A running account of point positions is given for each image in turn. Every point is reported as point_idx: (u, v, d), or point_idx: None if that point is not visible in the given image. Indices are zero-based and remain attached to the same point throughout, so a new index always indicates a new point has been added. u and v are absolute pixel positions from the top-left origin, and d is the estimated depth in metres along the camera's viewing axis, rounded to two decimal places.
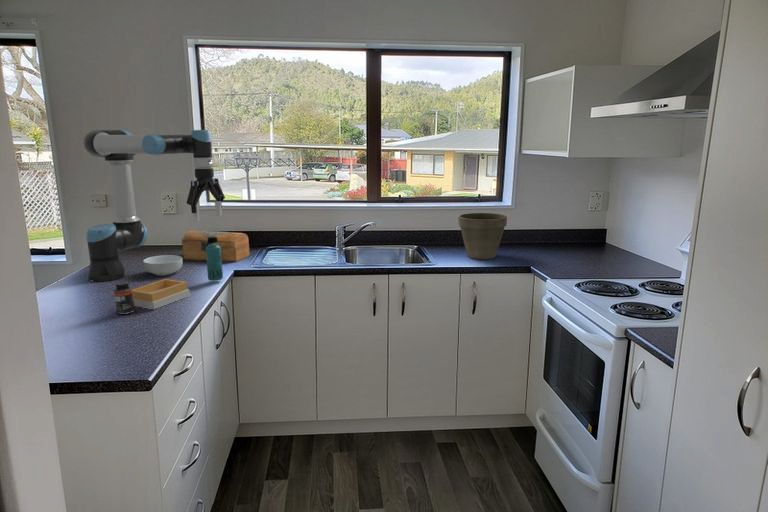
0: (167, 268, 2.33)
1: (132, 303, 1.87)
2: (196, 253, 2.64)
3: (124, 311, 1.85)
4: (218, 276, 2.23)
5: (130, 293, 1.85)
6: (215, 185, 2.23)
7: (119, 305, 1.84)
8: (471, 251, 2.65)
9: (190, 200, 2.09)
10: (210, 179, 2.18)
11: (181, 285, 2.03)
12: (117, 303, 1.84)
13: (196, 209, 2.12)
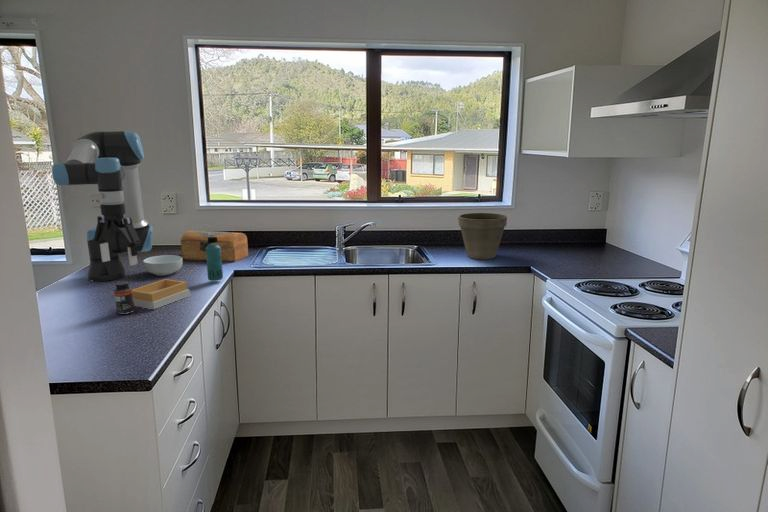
0: (167, 268, 2.33)
1: (132, 303, 1.87)
2: (195, 253, 2.64)
3: (124, 311, 1.85)
4: (218, 276, 2.23)
5: (130, 293, 1.85)
6: None
7: (119, 305, 1.84)
8: (471, 251, 2.65)
9: None
10: (115, 218, 1.78)
11: (181, 285, 2.03)
12: (117, 303, 1.84)
13: None
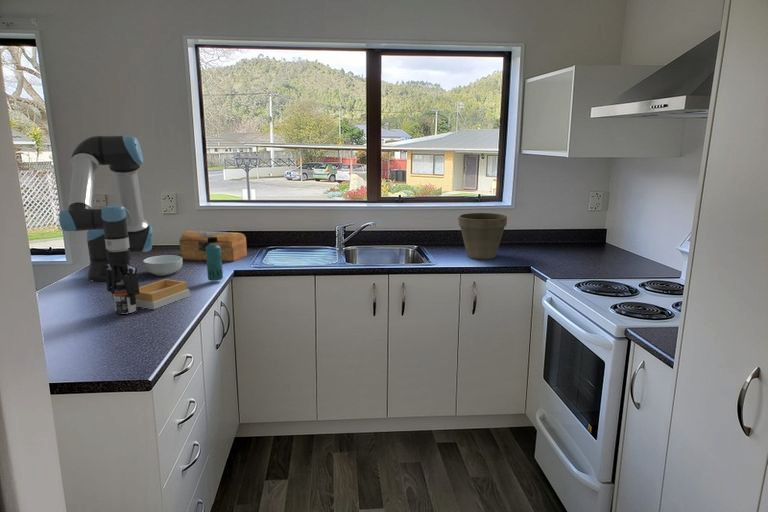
0: (167, 268, 2.33)
1: None
2: (193, 253, 2.64)
3: (124, 311, 1.85)
4: (218, 276, 2.23)
5: None
6: None
7: (119, 305, 1.84)
8: (471, 251, 2.65)
9: None
10: (122, 263, 1.81)
11: (181, 285, 2.03)
12: (117, 303, 1.84)
13: None
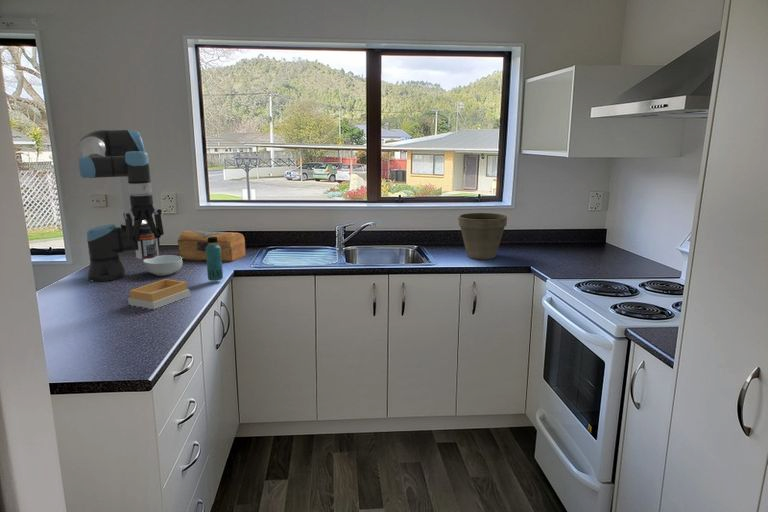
0: (167, 268, 2.33)
1: None
2: (192, 253, 2.65)
3: (155, 253, 1.94)
4: (218, 276, 2.23)
5: None
6: (156, 216, 1.94)
7: (152, 248, 1.92)
8: (471, 251, 2.65)
9: (128, 236, 1.86)
10: (150, 206, 1.91)
11: (181, 285, 2.03)
12: (151, 246, 1.91)
13: (138, 245, 1.89)
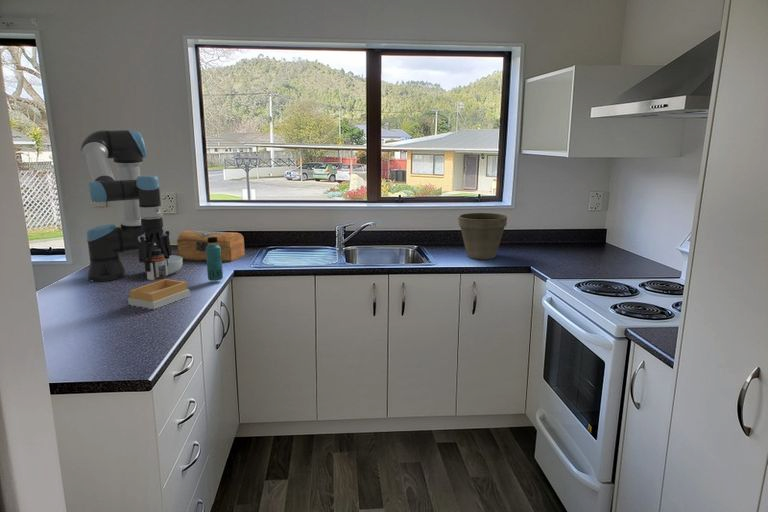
0: (167, 268, 2.33)
1: None
2: (191, 253, 2.65)
3: (165, 273, 1.99)
4: (218, 276, 2.23)
5: None
6: (164, 237, 2.00)
7: (163, 269, 1.97)
8: (471, 251, 2.65)
9: (142, 259, 1.91)
10: (160, 228, 1.96)
11: (181, 285, 2.03)
12: (163, 267, 1.97)
13: (150, 267, 1.94)
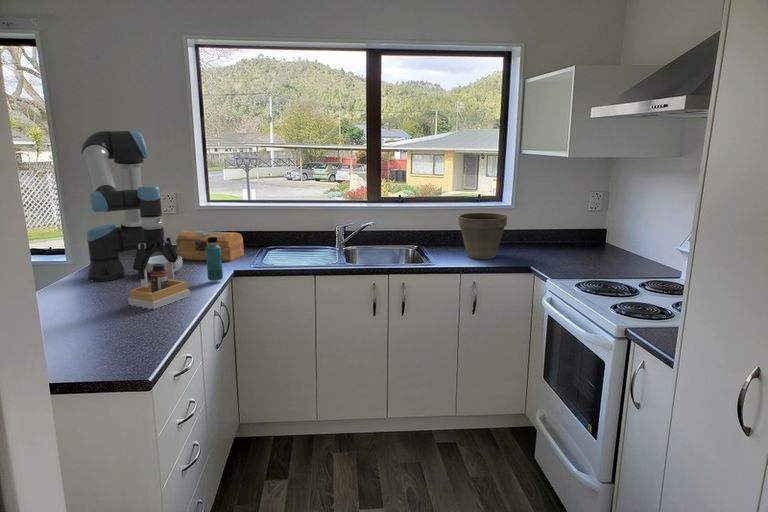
0: None
1: None
2: (190, 253, 2.65)
3: None
4: (218, 276, 2.23)
5: None
6: (166, 244, 2.01)
7: (166, 284, 1.99)
8: (471, 251, 2.65)
9: (136, 266, 1.89)
10: (160, 239, 1.97)
11: (181, 285, 2.03)
12: (165, 283, 1.98)
13: (144, 275, 1.91)
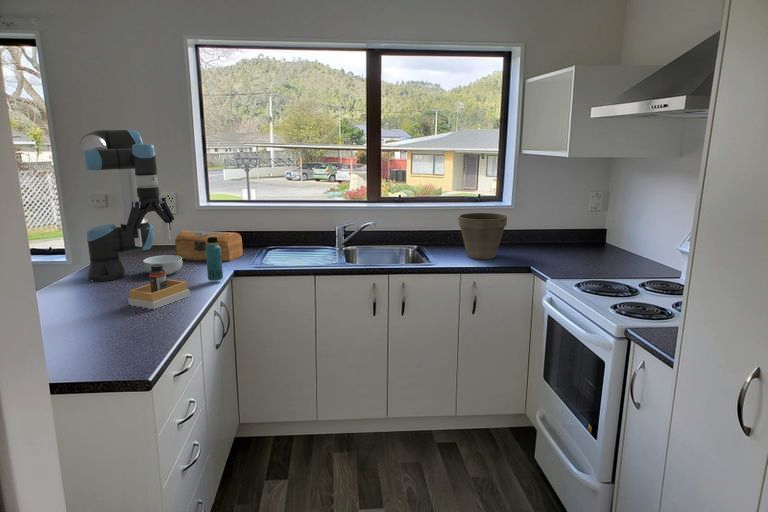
0: (167, 268, 2.33)
1: None
2: (189, 253, 2.65)
3: None
4: (218, 276, 2.23)
5: None
6: (162, 205, 1.99)
7: (165, 284, 1.99)
8: (471, 251, 2.65)
9: (130, 224, 1.85)
10: (155, 199, 1.94)
11: (181, 285, 2.03)
12: (164, 283, 1.98)
13: (138, 233, 1.88)
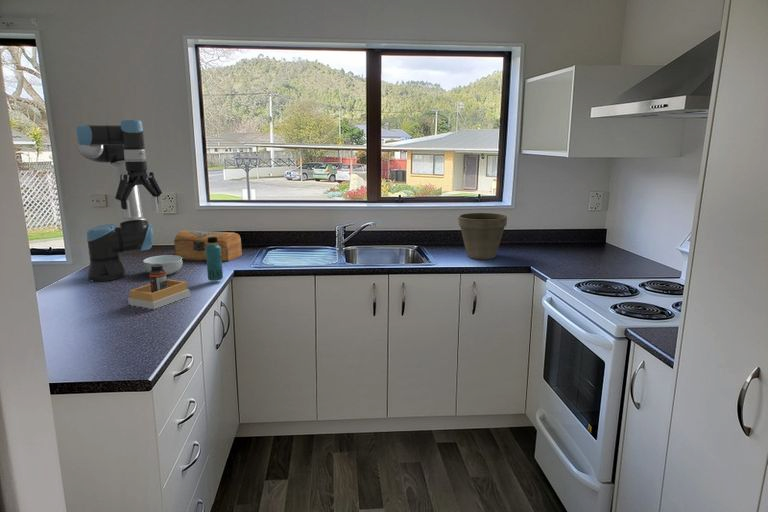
0: (167, 268, 2.33)
1: None
2: (188, 253, 2.65)
3: None
4: (218, 276, 2.23)
5: None
6: (150, 179, 2.08)
7: (165, 284, 1.99)
8: (471, 251, 2.65)
9: (119, 195, 1.95)
10: (143, 173, 2.04)
11: (181, 285, 2.03)
12: (164, 283, 1.98)
13: (126, 205, 1.98)
